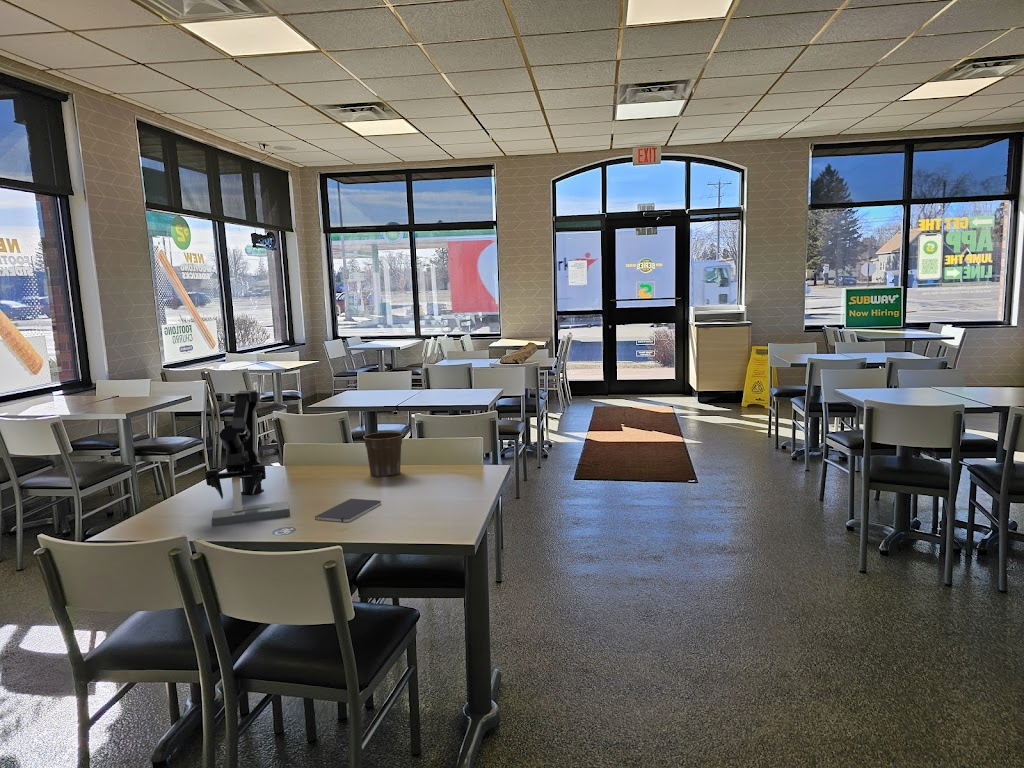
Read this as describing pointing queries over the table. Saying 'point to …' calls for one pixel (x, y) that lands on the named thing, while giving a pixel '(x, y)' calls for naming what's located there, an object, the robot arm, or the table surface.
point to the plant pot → (384, 453)
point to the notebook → (348, 510)
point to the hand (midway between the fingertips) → (237, 496)
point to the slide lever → (237, 494)
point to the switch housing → (250, 513)
